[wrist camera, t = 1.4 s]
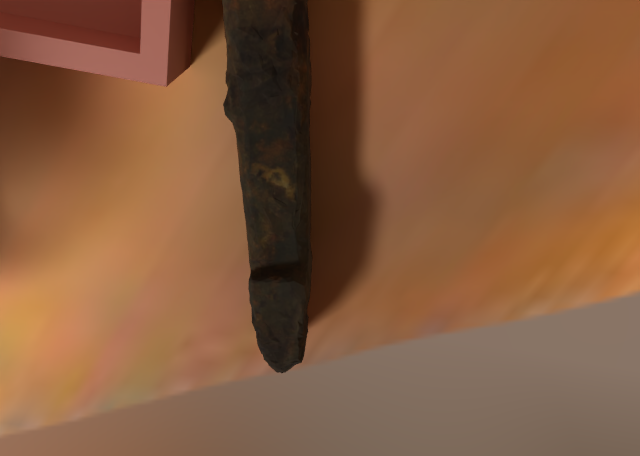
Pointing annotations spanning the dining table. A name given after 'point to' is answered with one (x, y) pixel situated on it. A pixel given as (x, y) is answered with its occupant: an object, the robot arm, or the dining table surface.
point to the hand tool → (273, 164)
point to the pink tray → (101, 36)
